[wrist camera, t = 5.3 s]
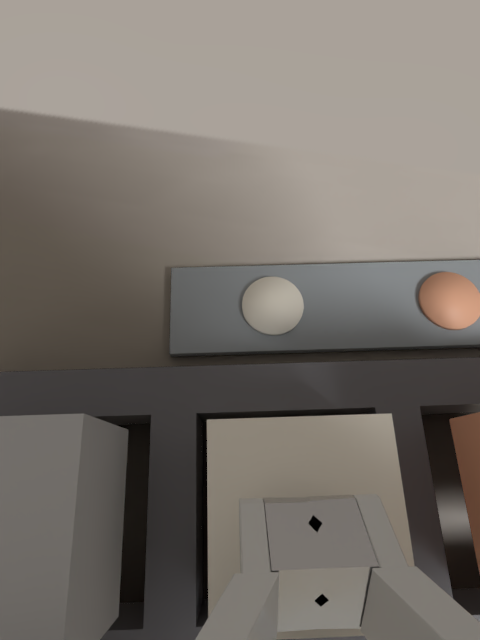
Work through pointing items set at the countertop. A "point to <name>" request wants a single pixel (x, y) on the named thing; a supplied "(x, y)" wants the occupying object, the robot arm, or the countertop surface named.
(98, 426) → the grey key
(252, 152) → the countertop surface
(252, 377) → the keyguard frame
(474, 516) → the terracotta key
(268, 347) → the card
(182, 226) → the countertop surface
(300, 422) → the cream key
